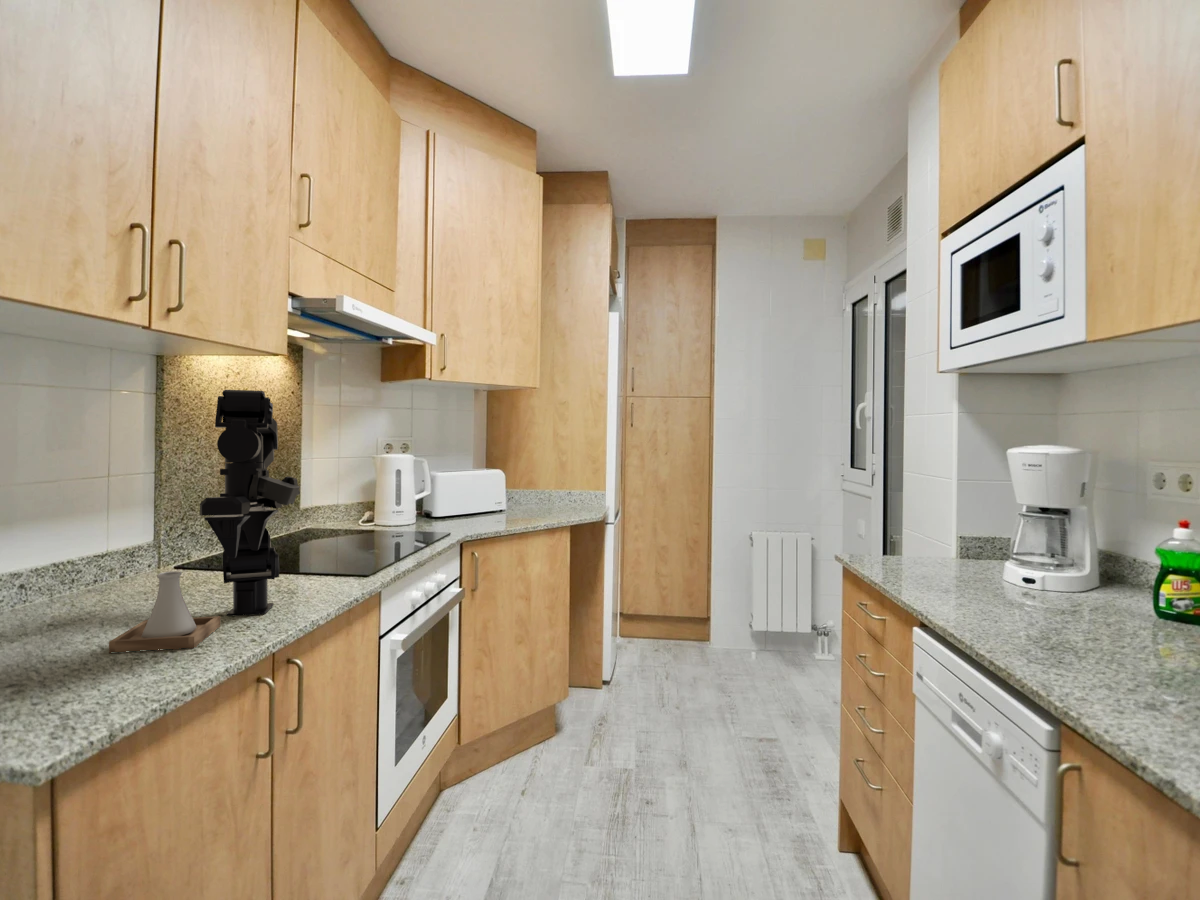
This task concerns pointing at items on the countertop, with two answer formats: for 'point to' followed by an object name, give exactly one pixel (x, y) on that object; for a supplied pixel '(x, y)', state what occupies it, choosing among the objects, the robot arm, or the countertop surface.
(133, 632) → the walnut tray
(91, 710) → the countertop surface
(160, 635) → the flask
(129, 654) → the countertop surface
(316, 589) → the countertop surface
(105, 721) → the countertop surface
